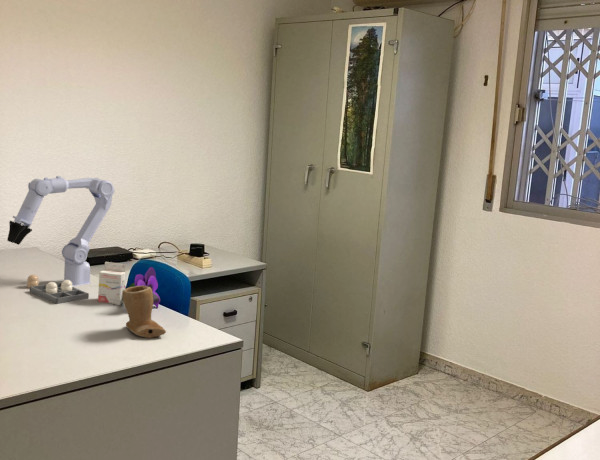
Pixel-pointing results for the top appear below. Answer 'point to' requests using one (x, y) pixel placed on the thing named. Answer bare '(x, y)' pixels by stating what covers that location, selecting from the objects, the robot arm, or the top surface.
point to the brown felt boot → (141, 311)
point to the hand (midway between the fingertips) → (13, 242)
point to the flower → (148, 284)
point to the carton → (59, 294)
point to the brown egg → (32, 281)
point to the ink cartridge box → (112, 283)
